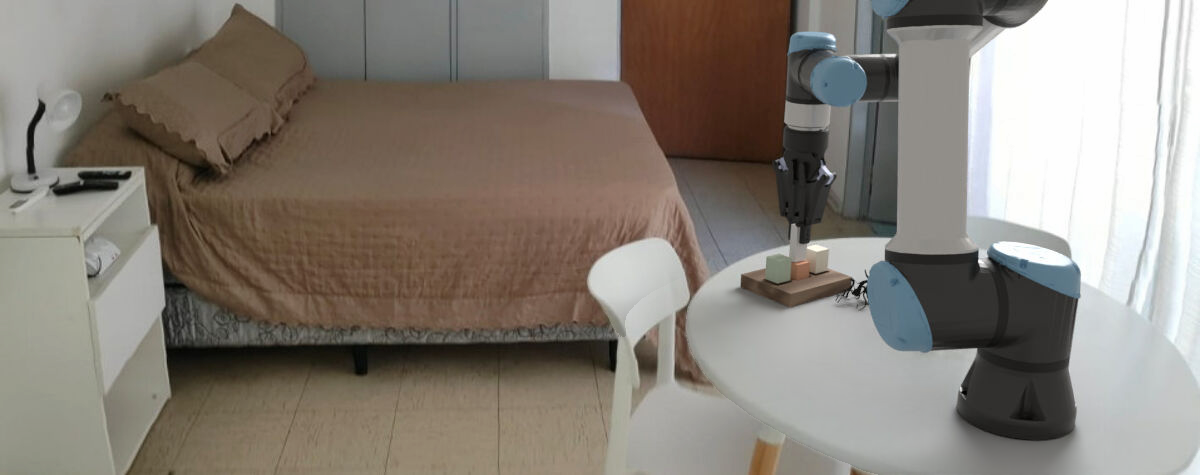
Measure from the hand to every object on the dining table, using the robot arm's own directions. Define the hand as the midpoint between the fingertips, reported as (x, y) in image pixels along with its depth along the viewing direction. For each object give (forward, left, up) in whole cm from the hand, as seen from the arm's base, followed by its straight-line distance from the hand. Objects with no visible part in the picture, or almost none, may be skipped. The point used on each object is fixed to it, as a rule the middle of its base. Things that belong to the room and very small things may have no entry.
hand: (797, 259), depth 205 cm
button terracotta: (0, 0, -4) cm, 4 cm away
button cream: (0, -5, -3) cm, 5 cm away
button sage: (0, +5, -3) cm, 5 cm away
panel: (0, 0, -5) cm, 5 cm away
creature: (-11, -3, -6) cm, 12 cm away
